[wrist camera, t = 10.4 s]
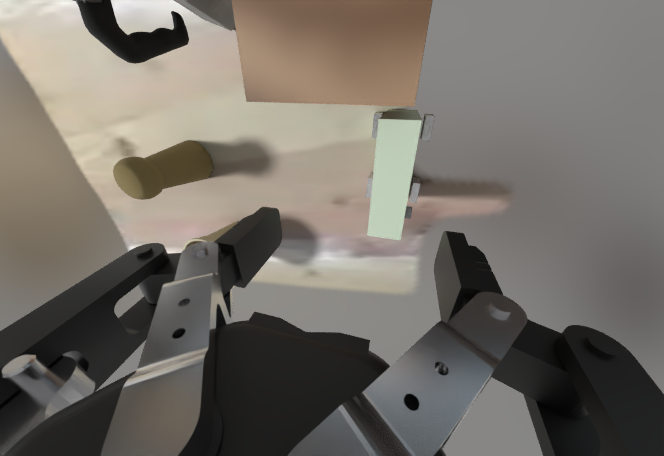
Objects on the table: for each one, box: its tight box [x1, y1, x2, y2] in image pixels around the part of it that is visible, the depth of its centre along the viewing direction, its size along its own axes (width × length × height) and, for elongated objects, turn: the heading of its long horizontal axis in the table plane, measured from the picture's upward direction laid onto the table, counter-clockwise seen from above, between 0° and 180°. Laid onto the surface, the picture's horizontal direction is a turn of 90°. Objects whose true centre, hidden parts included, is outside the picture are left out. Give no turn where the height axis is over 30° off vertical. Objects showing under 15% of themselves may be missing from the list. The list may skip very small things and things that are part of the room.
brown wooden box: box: [232, 0, 432, 106], centre depth 18 cm, size 10×11×14 cm
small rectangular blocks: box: [366, 112, 435, 203], centre depth 27 cm, size 9×6×2 cm, turn 179°
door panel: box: [368, 110, 422, 240], centre depth 24 cm, size 10×4×11 cm, turn 179°
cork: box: [113, 140, 213, 200], centre depth 32 cm, size 6×6×11 cm
